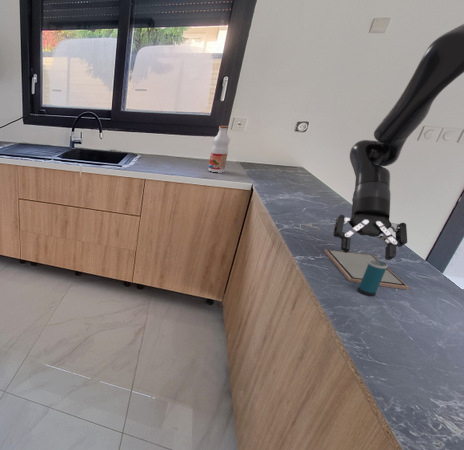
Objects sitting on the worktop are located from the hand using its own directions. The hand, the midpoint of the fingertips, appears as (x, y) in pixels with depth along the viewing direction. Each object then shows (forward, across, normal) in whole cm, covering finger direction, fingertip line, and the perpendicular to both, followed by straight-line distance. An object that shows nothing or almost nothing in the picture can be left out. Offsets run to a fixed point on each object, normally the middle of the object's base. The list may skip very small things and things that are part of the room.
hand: (367, 255), depth 82 cm
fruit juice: (-76, -47, +86) cm, 125 cm away
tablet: (+1, +2, +9) cm, 9 cm away
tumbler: (+10, 0, -1) cm, 11 cm away
